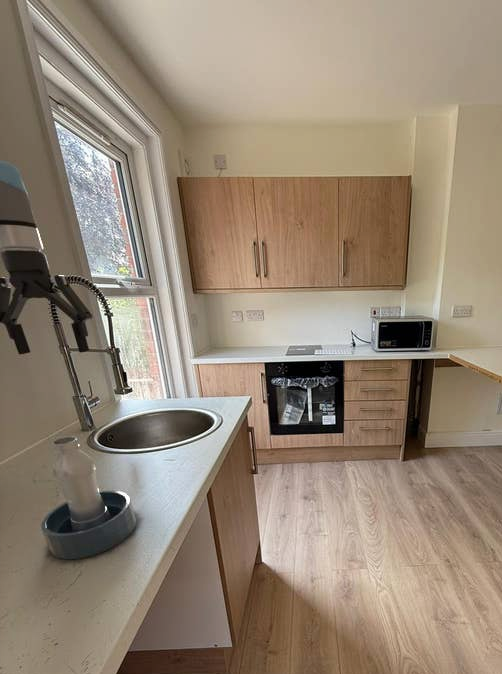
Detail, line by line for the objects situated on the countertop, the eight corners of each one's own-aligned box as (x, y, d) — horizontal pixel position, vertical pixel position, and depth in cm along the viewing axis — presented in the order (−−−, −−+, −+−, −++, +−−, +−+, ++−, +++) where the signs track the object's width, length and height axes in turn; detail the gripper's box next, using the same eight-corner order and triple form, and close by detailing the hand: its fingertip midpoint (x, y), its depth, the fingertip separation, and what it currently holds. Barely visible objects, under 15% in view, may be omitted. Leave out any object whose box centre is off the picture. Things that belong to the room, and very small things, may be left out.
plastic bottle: (104, 518, 73) (76, 430, 65) (120, 530, 69) (92, 438, 62) (70, 535, 68) (35, 442, 60) (85, 548, 64) (50, 451, 57)
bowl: (33, 565, 62) (21, 538, 60) (80, 515, 75) (72, 492, 73) (115, 560, 63) (106, 533, 60) (148, 512, 76) (142, 488, 74)
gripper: (92, 251, 77) (116, 348, 86) (-24, 253, 76) (12, 351, 85) (72, 248, 71) (100, 353, 79) (-57, 250, 69) (-14, 357, 78)
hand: (54, 352), depth 82 cm, fingers open, 13 cm apart
